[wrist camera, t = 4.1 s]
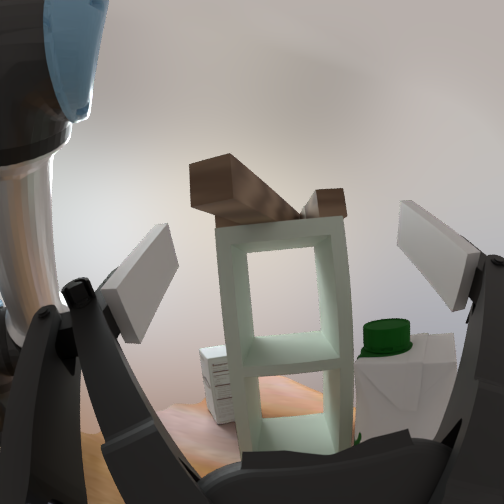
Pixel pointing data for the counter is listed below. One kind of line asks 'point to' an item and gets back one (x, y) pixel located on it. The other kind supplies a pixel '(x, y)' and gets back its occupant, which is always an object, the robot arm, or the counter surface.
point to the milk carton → (402, 380)
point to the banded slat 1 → (224, 222)
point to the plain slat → (235, 193)
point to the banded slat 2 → (325, 204)
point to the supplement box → (217, 383)
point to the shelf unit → (289, 337)
